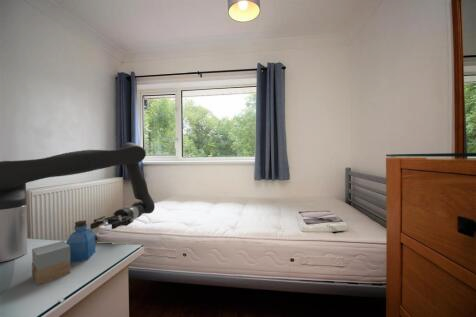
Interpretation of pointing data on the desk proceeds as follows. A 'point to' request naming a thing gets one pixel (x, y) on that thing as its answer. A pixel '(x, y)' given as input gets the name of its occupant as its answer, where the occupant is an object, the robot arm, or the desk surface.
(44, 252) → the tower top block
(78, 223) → the perfume bottle
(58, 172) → the robot arm
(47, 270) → the tower base block
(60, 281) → the desk surface
